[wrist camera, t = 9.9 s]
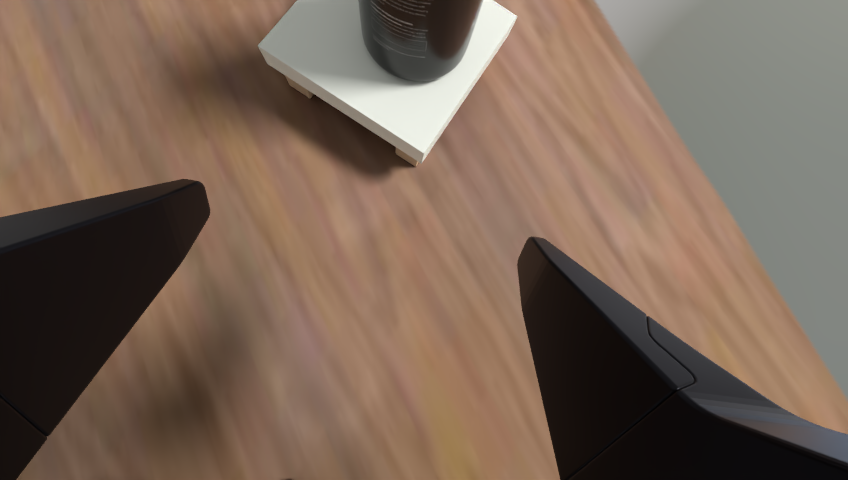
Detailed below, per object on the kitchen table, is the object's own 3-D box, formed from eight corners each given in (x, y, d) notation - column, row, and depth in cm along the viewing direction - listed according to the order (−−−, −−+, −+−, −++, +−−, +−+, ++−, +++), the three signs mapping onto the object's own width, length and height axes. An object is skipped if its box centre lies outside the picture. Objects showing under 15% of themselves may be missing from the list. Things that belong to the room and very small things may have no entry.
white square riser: (418, 175, 23) (424, 153, 19) (279, 86, 23) (257, 45, 19) (497, 58, 26) (517, 16, 22) (371, -25, 25) (368, -82, 21)
